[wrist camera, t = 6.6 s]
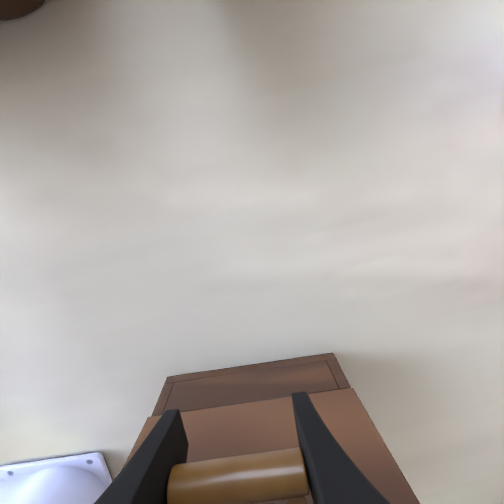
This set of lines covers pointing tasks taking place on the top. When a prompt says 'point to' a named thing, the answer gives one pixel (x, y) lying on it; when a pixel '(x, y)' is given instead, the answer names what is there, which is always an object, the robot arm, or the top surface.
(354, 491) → the robot arm
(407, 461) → the top surface
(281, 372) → the brown lidded crate
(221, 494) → the lid
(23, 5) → the olive oil
